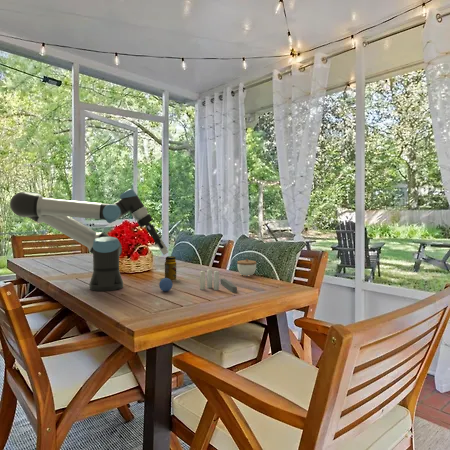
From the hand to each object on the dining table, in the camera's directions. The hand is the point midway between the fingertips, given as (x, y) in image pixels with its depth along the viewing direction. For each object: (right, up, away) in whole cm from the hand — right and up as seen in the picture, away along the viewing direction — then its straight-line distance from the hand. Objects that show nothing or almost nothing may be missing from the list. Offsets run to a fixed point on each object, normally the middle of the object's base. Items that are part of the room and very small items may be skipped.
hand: (165, 251), depth 194 cm
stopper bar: (+32, -16, -16) cm, 39 cm away
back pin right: (+27, -16, -20) cm, 37 cm away
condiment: (+1, -15, +3) cm, 15 cm away
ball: (+4, -13, -24) cm, 28 cm away
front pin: (+20, -16, -19) cm, 32 cm away
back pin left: (+23, -16, -16) cm, 32 cm away
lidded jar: (+43, -15, +17) cm, 49 cm away
